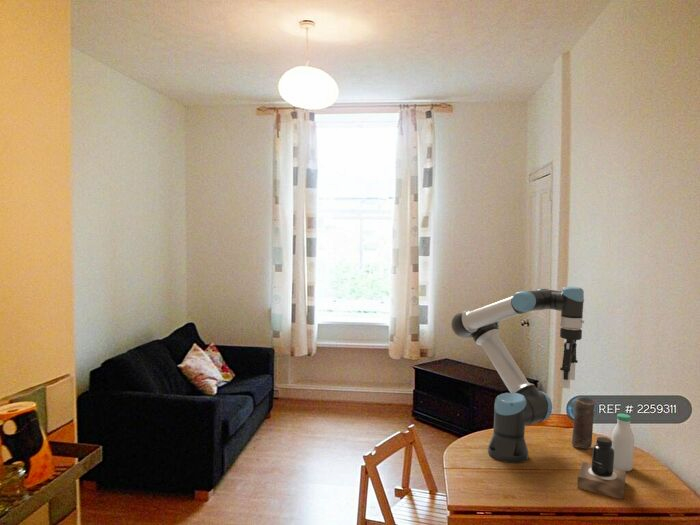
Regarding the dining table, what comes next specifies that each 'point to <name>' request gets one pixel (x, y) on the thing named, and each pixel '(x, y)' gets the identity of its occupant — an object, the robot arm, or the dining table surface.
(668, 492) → the dining table surface
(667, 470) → the dining table surface
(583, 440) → the brown cylinder
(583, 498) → the dining table surface
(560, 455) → the dining table surface
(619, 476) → the walnut plinth
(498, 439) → the robot arm
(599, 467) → the supplement bottle
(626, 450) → the milk bottle
